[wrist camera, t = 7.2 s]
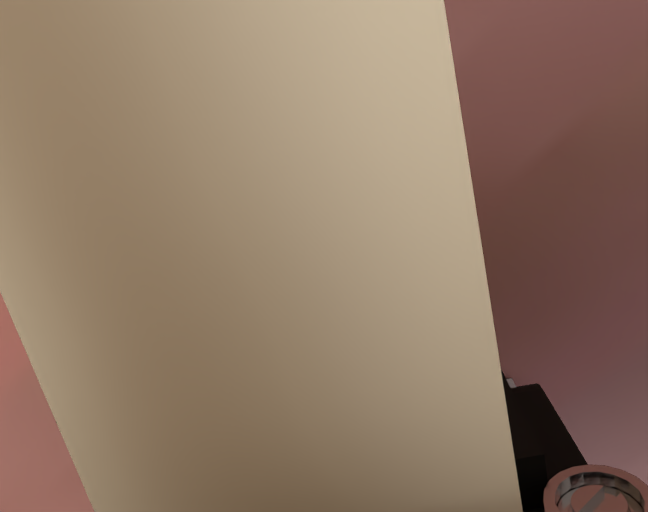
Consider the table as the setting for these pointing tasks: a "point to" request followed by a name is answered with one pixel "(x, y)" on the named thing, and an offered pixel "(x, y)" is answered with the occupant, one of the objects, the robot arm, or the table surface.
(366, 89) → the tan and gray block
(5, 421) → the table surface
